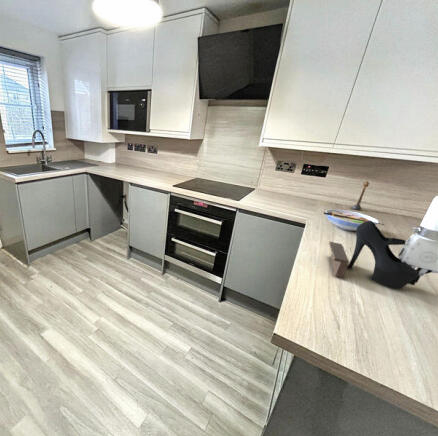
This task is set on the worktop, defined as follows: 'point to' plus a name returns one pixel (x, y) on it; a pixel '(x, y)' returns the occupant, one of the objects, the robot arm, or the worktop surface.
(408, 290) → the worktop surface
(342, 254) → the shoe rack rail
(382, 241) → the high-heeled shoe
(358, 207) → the wooden tabletop sculpture
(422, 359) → the worktop surface
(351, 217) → the ramen bowl
